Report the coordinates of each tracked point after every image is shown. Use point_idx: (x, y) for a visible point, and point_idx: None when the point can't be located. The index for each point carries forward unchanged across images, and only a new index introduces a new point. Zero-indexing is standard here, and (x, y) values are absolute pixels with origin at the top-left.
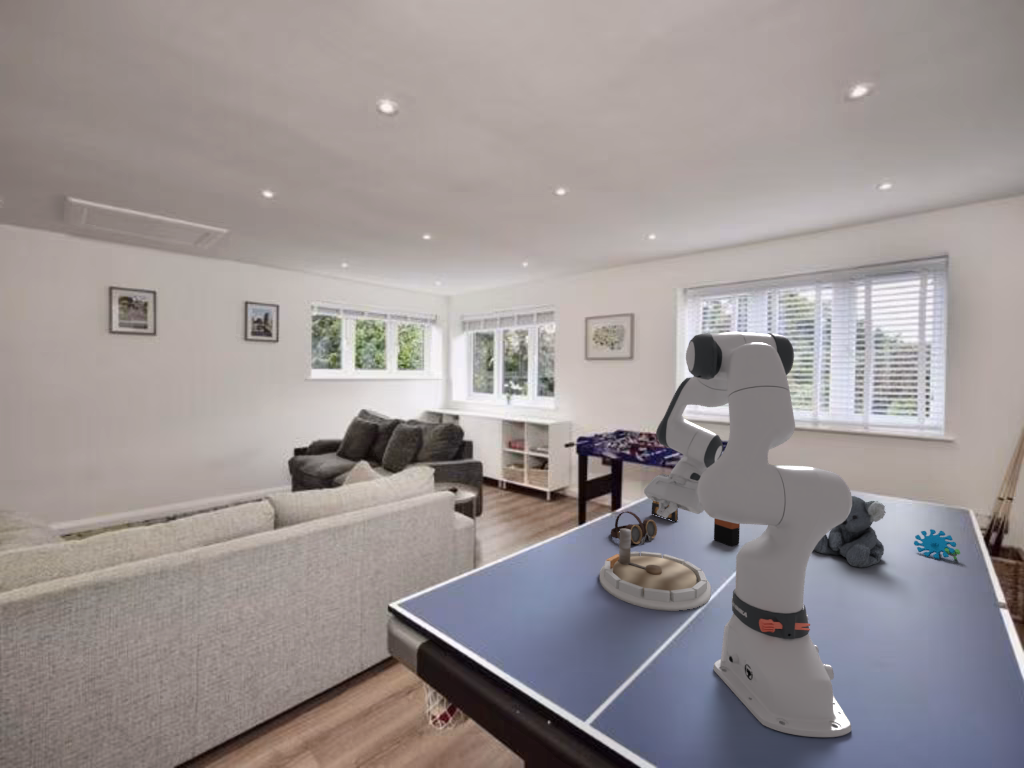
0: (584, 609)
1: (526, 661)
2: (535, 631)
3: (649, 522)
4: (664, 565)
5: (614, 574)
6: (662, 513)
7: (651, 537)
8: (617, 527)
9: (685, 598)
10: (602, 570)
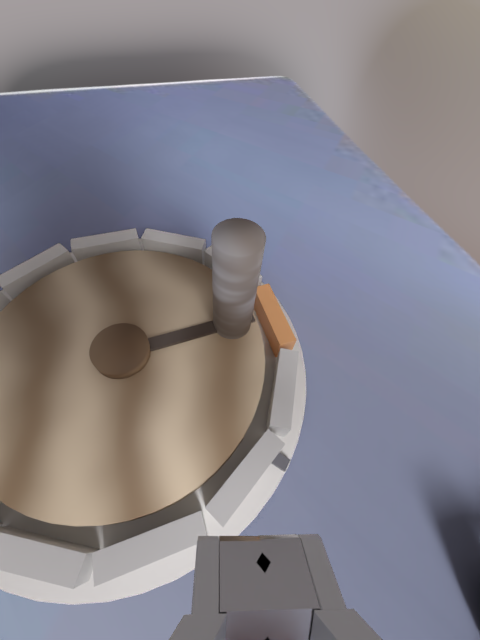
0: (148, 188)
1: (100, 102)
2: (144, 127)
3: None
4: (131, 433)
5: (173, 242)
6: (225, 540)
7: None
8: None
9: None
10: None
